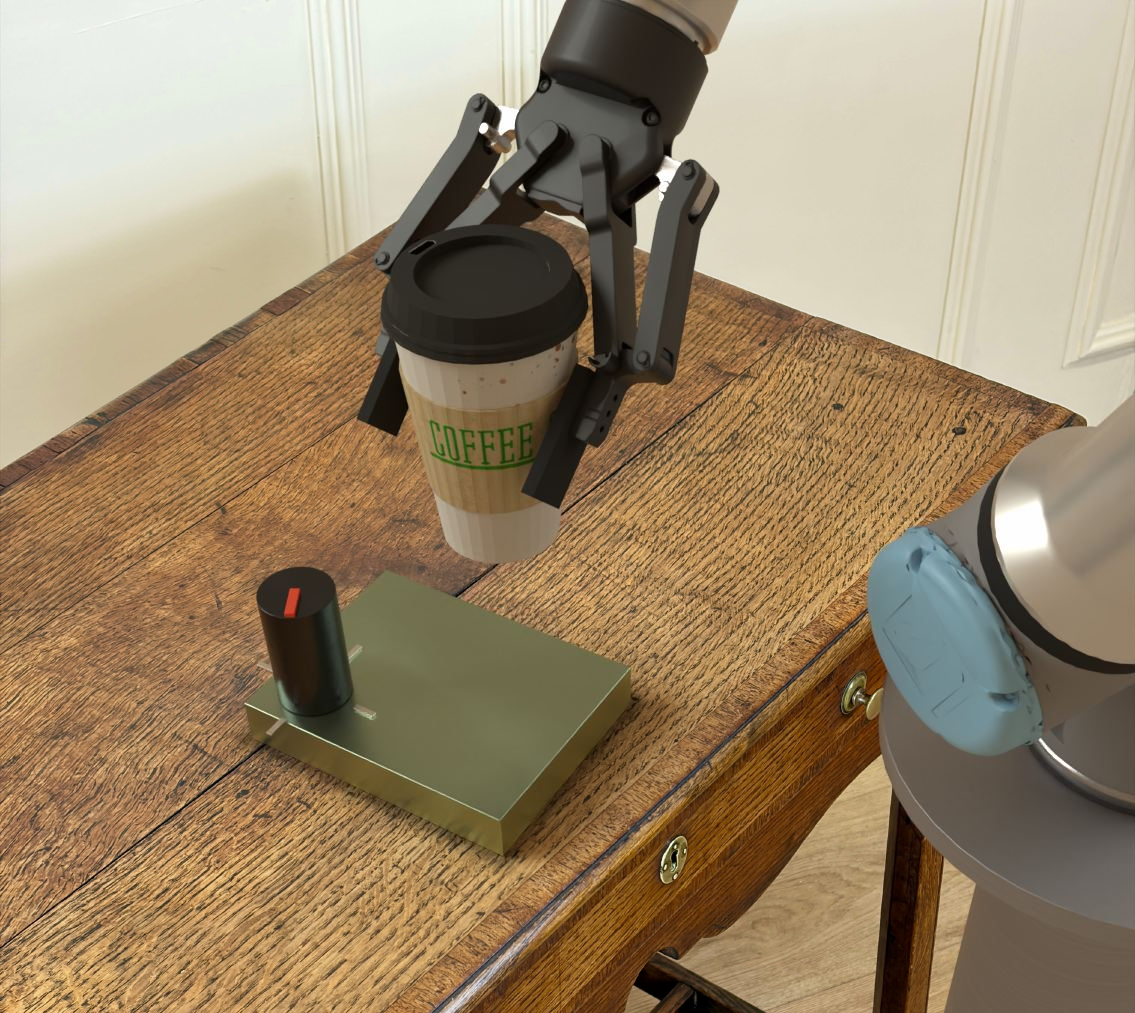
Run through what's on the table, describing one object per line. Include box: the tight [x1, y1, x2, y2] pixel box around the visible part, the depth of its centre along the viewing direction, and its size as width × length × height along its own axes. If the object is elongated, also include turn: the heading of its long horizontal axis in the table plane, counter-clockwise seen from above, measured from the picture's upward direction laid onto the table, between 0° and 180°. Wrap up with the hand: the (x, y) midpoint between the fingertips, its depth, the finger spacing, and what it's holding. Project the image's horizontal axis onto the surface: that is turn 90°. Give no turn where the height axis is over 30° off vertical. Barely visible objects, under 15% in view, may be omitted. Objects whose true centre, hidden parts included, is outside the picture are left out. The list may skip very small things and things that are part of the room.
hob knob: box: [255, 566, 353, 716], centre depth 90 cm, size 4×4×8 cm
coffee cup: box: [379, 224, 590, 565], centre depth 79 cm, size 10×10×15 cm
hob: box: [243, 569, 632, 857], centre depth 94 cm, size 19×15×3 cm
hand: (456, 463), depth 78 cm, fingers closed on coffee cup, 10 cm apart
